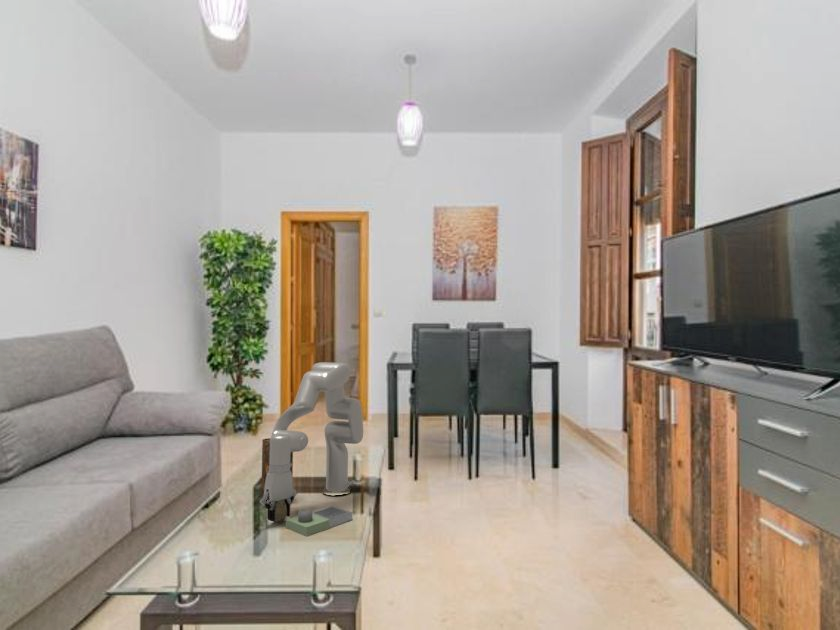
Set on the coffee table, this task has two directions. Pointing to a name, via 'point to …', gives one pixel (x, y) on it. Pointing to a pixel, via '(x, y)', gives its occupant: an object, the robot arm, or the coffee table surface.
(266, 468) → the book
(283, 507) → the decorative egg
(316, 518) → the deck
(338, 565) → the coffee table surface
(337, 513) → the tray
